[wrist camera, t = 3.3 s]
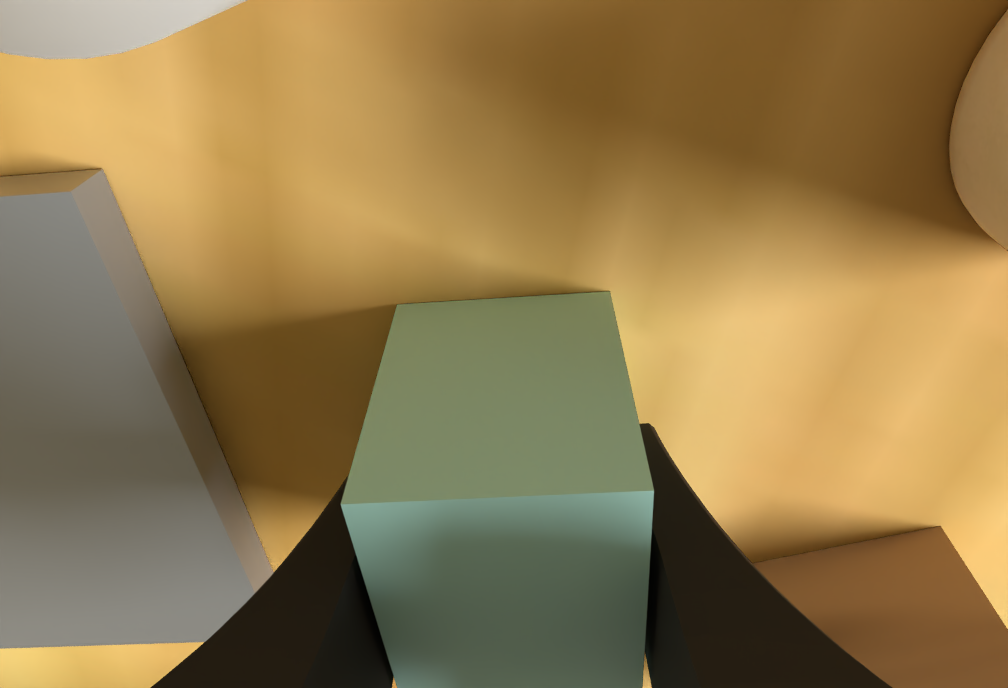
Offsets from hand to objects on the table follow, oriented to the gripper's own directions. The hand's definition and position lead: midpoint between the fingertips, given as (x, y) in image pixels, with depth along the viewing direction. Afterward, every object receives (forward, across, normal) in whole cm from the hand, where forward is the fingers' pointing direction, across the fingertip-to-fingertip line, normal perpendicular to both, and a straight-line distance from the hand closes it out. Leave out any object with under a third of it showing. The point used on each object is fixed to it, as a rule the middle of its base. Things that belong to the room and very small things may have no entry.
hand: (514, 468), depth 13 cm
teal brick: (+1, 0, 0) cm, 1 cm away
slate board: (+1, +11, 0) cm, 11 cm away
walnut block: (+2, -8, +7) cm, 11 cm away
